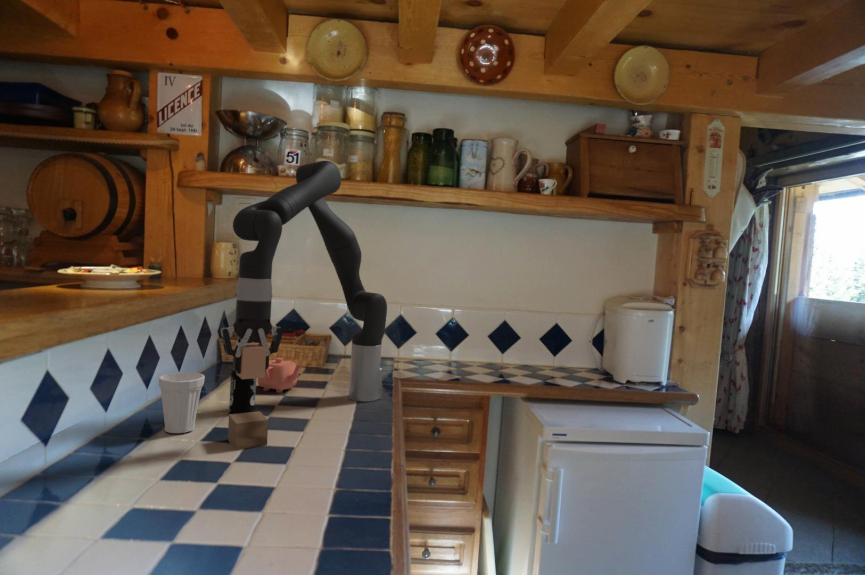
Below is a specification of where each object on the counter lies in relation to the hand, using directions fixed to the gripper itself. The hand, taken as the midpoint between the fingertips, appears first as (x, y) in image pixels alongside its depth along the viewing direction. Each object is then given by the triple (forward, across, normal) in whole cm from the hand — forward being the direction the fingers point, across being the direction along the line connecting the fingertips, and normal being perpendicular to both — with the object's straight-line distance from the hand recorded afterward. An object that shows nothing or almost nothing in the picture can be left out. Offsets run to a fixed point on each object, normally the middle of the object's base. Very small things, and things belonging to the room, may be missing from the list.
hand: (250, 371), depth 119 cm
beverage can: (+17, -5, -24) cm, 30 cm away
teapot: (+17, -21, -43) cm, 51 cm away
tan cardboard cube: (+1, 0, 0) cm, 1 cm away
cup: (+17, +12, -14) cm, 25 cm away
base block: (+16, 0, 0) cm, 16 cm away
